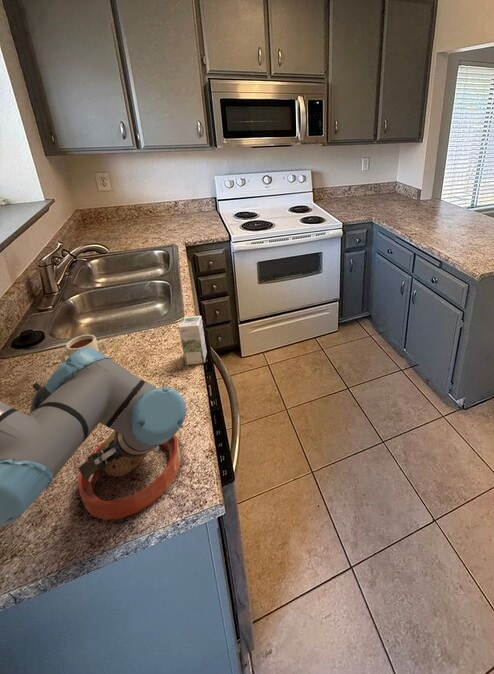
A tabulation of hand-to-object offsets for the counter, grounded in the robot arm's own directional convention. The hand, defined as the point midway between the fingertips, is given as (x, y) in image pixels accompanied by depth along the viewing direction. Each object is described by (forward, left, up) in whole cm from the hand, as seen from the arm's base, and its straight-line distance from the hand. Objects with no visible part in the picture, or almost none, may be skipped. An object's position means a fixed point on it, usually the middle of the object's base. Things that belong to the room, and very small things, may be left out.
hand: (120, 449), depth 77 cm
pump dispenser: (-15, +13, -4) cm, 20 cm away
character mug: (-13, +34, -4) cm, 36 cm away
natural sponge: (+1, -2, -3) cm, 4 cm away
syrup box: (+16, +31, -4) cm, 35 cm away
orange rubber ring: (+2, -4, -4) cm, 7 cm away
